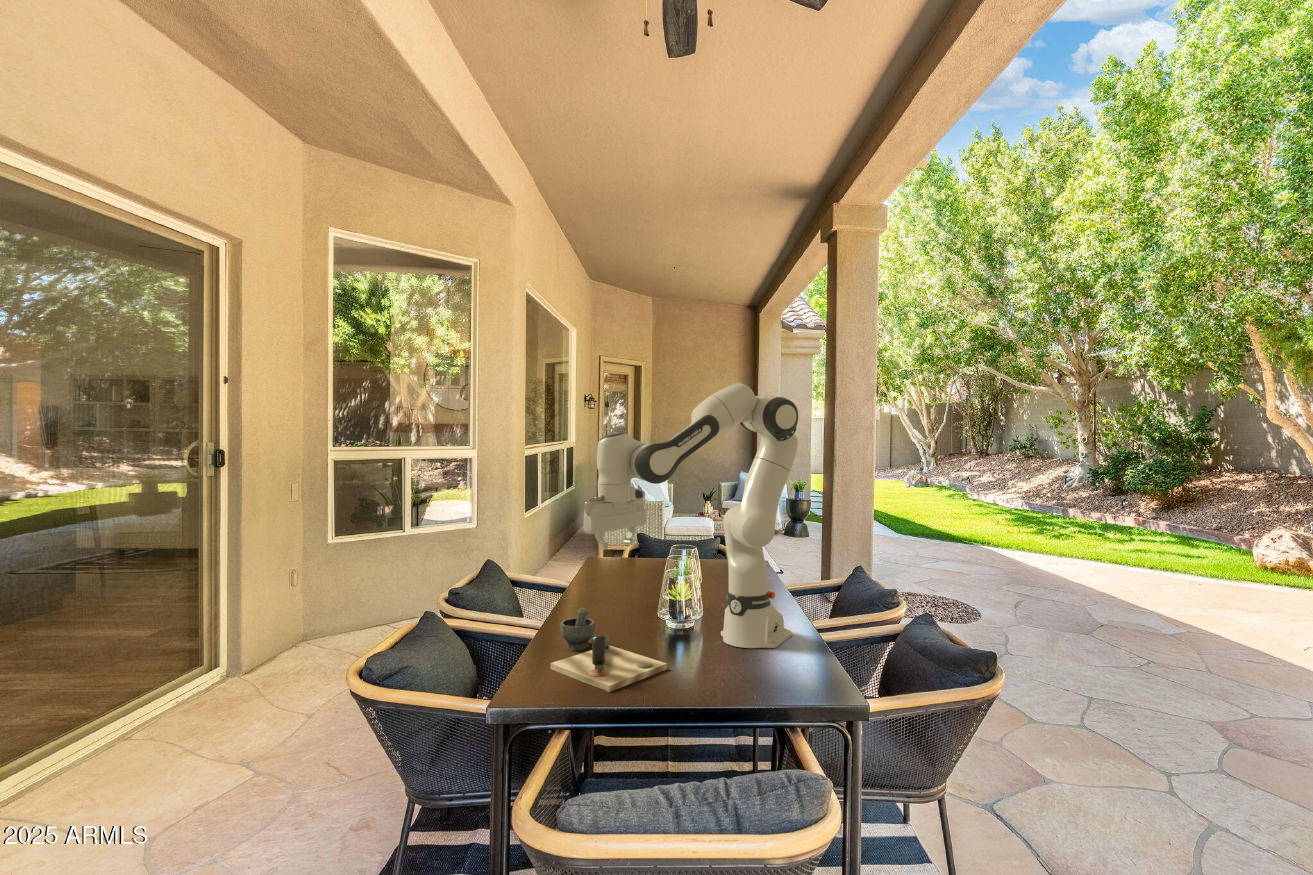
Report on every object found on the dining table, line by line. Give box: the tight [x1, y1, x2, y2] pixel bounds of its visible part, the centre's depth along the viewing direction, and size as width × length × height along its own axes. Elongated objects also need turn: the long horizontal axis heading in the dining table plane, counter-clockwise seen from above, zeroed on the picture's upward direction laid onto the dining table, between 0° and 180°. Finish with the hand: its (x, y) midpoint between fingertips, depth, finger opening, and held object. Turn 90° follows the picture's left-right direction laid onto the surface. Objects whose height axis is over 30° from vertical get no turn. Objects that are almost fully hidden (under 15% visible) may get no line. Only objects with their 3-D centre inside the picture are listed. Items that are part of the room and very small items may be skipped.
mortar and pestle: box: [559, 607, 596, 651], centre depth 179 cm, size 11×9×12 cm
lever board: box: [549, 644, 668, 693], centre depth 162 cm, size 20×22×2 cm
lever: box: [591, 633, 610, 669], centre depth 163 cm, size 4×20×8 cm, turn 2°
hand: (616, 546), depth 168 cm, fingers open, 8 cm apart
